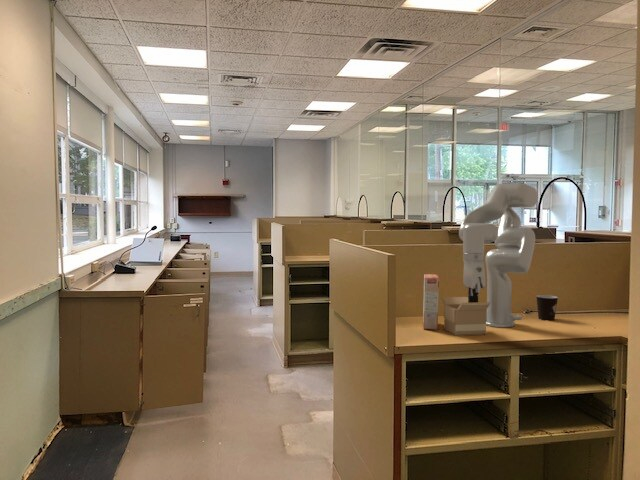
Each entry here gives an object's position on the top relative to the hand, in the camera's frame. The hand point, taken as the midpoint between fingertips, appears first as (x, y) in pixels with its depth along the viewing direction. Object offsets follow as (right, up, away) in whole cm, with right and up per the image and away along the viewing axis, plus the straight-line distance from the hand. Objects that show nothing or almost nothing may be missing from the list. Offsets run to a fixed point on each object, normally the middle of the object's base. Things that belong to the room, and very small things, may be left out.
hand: (473, 306), depth 184 cm
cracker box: (-12, -11, +17) cm, 24 cm away
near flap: (0, 0, -1) cm, 1 cm away
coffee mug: (+44, -10, +33) cm, 56 cm away
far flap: (-2, 0, +15) cm, 15 cm away
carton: (-1, -11, +7) cm, 13 cm away
